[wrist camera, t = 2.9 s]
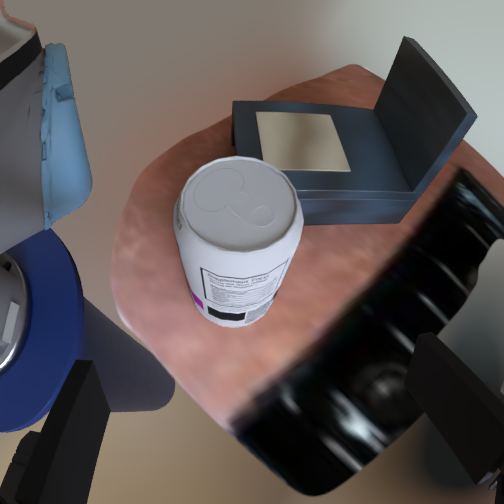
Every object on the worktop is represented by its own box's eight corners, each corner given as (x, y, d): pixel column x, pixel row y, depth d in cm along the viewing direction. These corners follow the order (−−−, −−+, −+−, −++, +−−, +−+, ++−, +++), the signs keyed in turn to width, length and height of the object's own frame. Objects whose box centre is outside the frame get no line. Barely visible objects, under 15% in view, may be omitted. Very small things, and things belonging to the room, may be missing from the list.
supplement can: (174, 297, 31) (141, 212, 18) (224, 238, 35) (227, 132, 21) (242, 345, 30) (257, 293, 16) (288, 280, 33) (331, 190, 20)
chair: (237, 227, 35) (250, 82, 19) (230, 138, 42) (238, 11, 25) (398, 223, 38) (478, 116, 21) (367, 142, 44) (414, 38, 27)
